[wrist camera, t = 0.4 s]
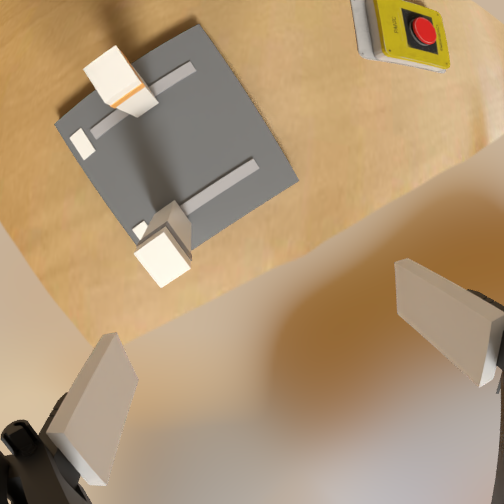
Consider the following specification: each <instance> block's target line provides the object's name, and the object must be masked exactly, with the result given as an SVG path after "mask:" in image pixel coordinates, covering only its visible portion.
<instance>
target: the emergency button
mask: <svg viewBox="0 0 504 504" xmlns="http://www.w3.org/2000/svg"><path fill="white" fill-rule="evenodd" d="M350 3H351V8H352V14H353V20H354V26H355V33H356V40H357V47H358V52H359V55H360V56H361V57H362V58H365V59H369V60H376V61H382V62H389V63H395V64H400V65H405V66H411V67H416V68H420V69H425V70H429V71H434V72H438V73H445V72H446V69H447V68H449V67H450V59H449V52H448V46H447V40H446V35H445V30H444V25H443V20H442V17H441V15H440V14H439V13H438V12H437V11H434V10H432V9H429V8H426V7H423V6H420V5H417V4H414V3H411V2H408V1H404V0H350Z"/></svg>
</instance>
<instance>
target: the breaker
mask: <svg viewBox="0 0 504 504" xmlns="http://www.w3.org/2000/svg"><path fill="white" fill-rule="evenodd" d="M191 225H192V224H191V222H190V221H189V220H188V218H187V217H186V215H185V214H184V212H183V211H182V210H181V208H180V207H179V205H178V204H177V202H176V201H175V200H174V201H172V202H171V203H169V204H168V205H167V206H165V207H164V208H162V209H161V210H160V211H158V212H157V213H155V214H154V216H153V218H152V220H151V221H150V223H149V225H148V227H147V229H146V231H145V233H144V235H143V236H142V238H141V240H140V241H139V242H138V244H137V246H136V247H137V248H136V250H135V252H134V255H135V256H136V257H137V259H138V260H139V261H140V263H141V264H142V265H143V266H144V268H145V269H146V270H147V271H148V273H149V274H150V275H151V276H152V278H153V279H154V280H155V281H156V283H157V284H158V285H159V286H160V288H162V287H164V286H165V285H167V284H168V283H170V282H171V281H173V280H174V279H176V278H177V277H179V276H180V275H182V274H183V273H185V272H186V271H188V270H189V269H191V261H192V254H191Z"/></svg>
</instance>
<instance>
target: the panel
mask: <svg viewBox="0 0 504 504" xmlns="http://www.w3.org/2000/svg"><path fill="white" fill-rule="evenodd" d="M131 65H132V66H133V67H134V69H135V70H136V71H137V72H138V74H139V75H140V76H141V77H142V79H143V80H144V81H145V83H146V84H147V86H148V87H149V89H150V90H151V92H152V93H153V95H154V96H155V98H156V99H157V101H158V102H159V103H158V104H157V105H155V106H154V107H152V108H151V109H149V110H148V111H147V112H145V113H144V114H142V115H141V116H139V117H138V118H137V117H135V116H133V115H131V114H128V113H126V112H124V111H122V110H119V109H117V108H112V107H110V105H108V104H106V103H104V101H103V100H102V98H101V96H100V95H99V93H98V92H97V90H94V91H93V92H92V93H91V94H89V95H88V96H87V97H85V98H84V99H83V100H82V101H81V102H79V103H78V104H77V105H76V106H75V107H73V108H72V109H71V110H70V111H69V112H67V113H66V114H65V115H64V116H63V117H62V118H61V119H59V120H58V121H57V122H56V123H55V124H54V125H55V126H56V128H57V130H58V131H59V133H60V134H61V136H62V138H63V139H64V141H65V142H66V144H67V146H68V147H69V149H70V150H71V152H72V154H73V155H74V157H75V158H76V160H77V161H78V163H79V164H80V166H81V167H82V169H83V170H84V172H85V173H86V175H87V176H88V178H89V179H90V181H91V182H92V184H93V185H94V187H95V188H96V190H97V191H98V193H99V194H100V196H101V197H102V198H103V200H104V201H105V203H106V204H107V206H108V207H109V208H110V210H111V211H112V213H113V214H114V215H115V217H116V218H117V220H118V221H119V222H120V224H121V225H122V226H123V228H124V229H125V230H126V232H127V233H128V235H129V236H130V237H131V239H132V240H133V241H134V243H135V244H136V245H137V244H138V242H139V241H140V240H141V238H142V236H143V235H144V233H145V231H146V229H147V227H148V225H149V223H150V221H151V220H152V218H153V216H154V214H155V213H157V212H158V211H160V210H161V209H162V208H164V207H165V206H167V205H168V204H169V203H171V202H172V201H174V200H175V201H176V202H177V204H178V205H179V207H180V208H181V210H182V211H183V212H184V214H185V215H186V217H187V218H188V220H189V221H190V222H191V224H192V225H191V250H193V249H194V248H196V247H197V246H199V245H200V244H202V243H203V242H205V241H206V240H208V239H209V238H211V237H212V236H214V235H216V234H217V233H219V232H220V231H222V230H223V229H225V228H226V227H228V226H229V225H231V224H232V223H234V222H235V221H237V220H238V219H240V218H242V217H243V216H245V215H246V214H248V213H249V212H251V211H252V210H254V209H255V208H257V207H259V206H260V205H262V204H263V203H265V202H266V201H268V200H270V199H271V198H273V197H274V196H276V195H277V194H279V193H281V192H282V191H284V190H285V189H287V188H288V187H290V186H292V185H293V184H295V183H296V182H298V181H299V179H298V178H297V176H296V174H295V172H294V171H293V169H292V167H291V165H290V164H289V162H288V160H287V158H286V157H285V155H284V153H283V152H282V150H281V148H280V147H279V145H278V143H277V142H276V140H275V138H274V137H273V135H272V133H271V132H270V130H269V128H268V127H267V125H266V123H265V122H264V120H263V119H262V117H261V115H260V114H259V112H258V111H257V109H256V107H255V106H254V104H253V103H252V101H251V100H250V98H249V96H248V95H247V93H246V92H245V90H244V89H243V87H242V86H241V84H240V83H239V81H238V79H237V78H236V76H235V75H234V73H233V72H232V70H231V69H230V67H229V66H228V64H227V63H226V62H225V60H224V59H223V57H222V56H221V54H220V53H219V51H218V50H217V48H216V47H215V46H214V44H213V43H212V41H211V40H210V38H209V37H208V36H207V34H206V33H205V31H204V30H203V29H202V27H201V26H200V25H199V24H198V25H196V26H194V27H192V28H190V29H188V30H186V31H185V32H183V33H181V34H179V35H177V36H176V37H174V38H172V39H170V40H169V41H167V42H165V43H163V44H162V45H160V46H158V47H157V48H155V49H154V50H152V51H150V52H149V53H147V54H146V55H144V56H142V57H141V58H139V59H138V60H136V61H135V62H133V63H132V64H131Z"/></svg>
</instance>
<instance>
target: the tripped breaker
mask: <svg viewBox="0 0 504 504" xmlns="http://www.w3.org/2000/svg"><path fill="white" fill-rule="evenodd" d="M83 70H84V71H85V73H86V74H87V76H88V78H89V79H90V81H91V82H92V84H93V85H94V87H95V89H96V90H97V92H98V93H99V95H100V96H101V98H102V100H103V101H104V103H106V104H108V105H110V107H112V108H117V109H119V110H122V111H124V112H126V113H128V114H131V115H133V116H135V117H137V118H138V117H139V116H141V115H142V114H144V113H145V112H147V111H148V110H149V109H151V108H152V107H154V106H155V105H157V104H158V103H159V102H158V101H157V99H156V98H155V96H154V95H153V93H152V92H151V90H150V89H149V87H148V86H147V84H146V83H145V81H144V80H143V79H142V77H141V76H140V75H139V74H138V72H137V71H136V70H135V69H134V67H133V66H132V65H131V64H130V62H129V61H128V59H127V58H126V56H125V55H124V54H123V52H122V51H120V50H119V49H118V47H117V46H116V45H115V46H114V47H112V48H111V49H109V50H108V51H107V52H105V53H104V54H102V55H101V56H100V57H98V58H97V59H95V60H94V61H93V62H91V63H90V64H89V65H88V66H86V67H85V68H84V69H83Z"/></svg>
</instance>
